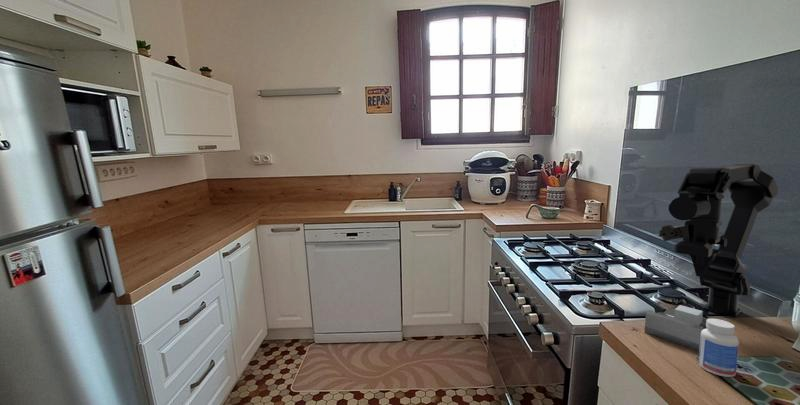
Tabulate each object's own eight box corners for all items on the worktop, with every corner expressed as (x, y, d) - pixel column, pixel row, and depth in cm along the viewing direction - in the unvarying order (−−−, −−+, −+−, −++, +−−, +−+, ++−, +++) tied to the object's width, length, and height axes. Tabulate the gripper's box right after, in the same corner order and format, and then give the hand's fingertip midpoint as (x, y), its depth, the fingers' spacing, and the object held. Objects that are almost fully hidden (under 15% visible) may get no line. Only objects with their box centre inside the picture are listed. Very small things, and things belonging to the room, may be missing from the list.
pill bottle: (744, 379, 61) (748, 331, 60) (710, 376, 62) (715, 329, 61) (721, 362, 67) (725, 317, 66) (691, 359, 68) (695, 315, 67)
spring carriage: (665, 312, 86) (666, 301, 85) (701, 322, 80) (702, 311, 79) (659, 316, 83) (660, 305, 83) (696, 327, 77) (697, 315, 77)
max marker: (658, 316, 83) (658, 311, 83) (666, 318, 82) (666, 314, 82) (657, 317, 83) (657, 312, 83) (664, 319, 82) (665, 314, 81)
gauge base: (668, 313, 89) (670, 295, 88) (718, 327, 80) (720, 308, 80) (644, 332, 79) (645, 312, 78) (698, 350, 71) (700, 329, 70)
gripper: (676, 210, 93) (672, 262, 95) (651, 217, 83) (648, 275, 84) (730, 214, 84) (725, 272, 86) (710, 222, 74) (704, 288, 75)
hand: (699, 276), depth 83 cm, fingers closed
